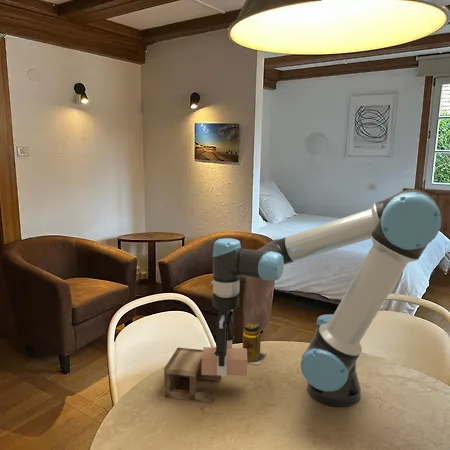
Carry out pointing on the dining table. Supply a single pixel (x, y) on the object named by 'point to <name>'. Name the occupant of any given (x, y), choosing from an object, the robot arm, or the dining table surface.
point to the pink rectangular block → (234, 361)
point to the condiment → (252, 343)
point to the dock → (186, 375)
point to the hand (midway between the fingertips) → (224, 367)
